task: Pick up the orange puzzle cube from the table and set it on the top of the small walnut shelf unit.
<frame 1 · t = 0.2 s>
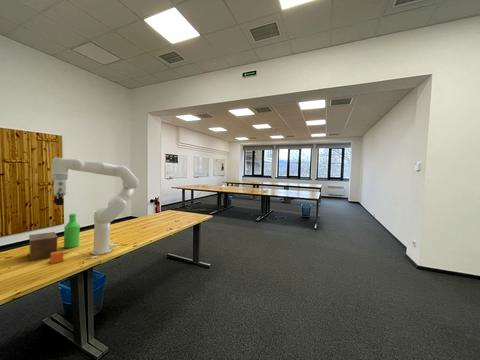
hand: (58, 204, 124), 36 cm above the table, tool pointing down, fingers open, 9 cm apart
shelf: (42, 255, 132), on the table
bottle: (71, 246, 149), on the table
cube: (56, 261, 124), on the table
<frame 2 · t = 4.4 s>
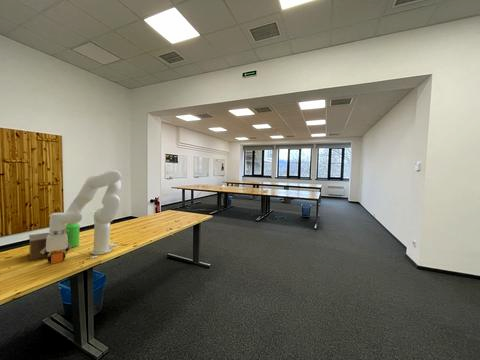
hand: (56, 260, 124), 0 cm above the table, tool pointing down, fingers closed on cube, 5 cm apart
cube: (56, 261, 124), on the table, touching gripper
everything else where it was.
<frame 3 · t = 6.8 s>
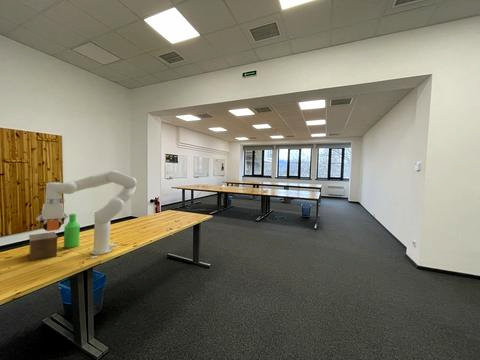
hand: (52, 228, 126), 20 cm above the table, tool pointing down, fingers closed on cube, 5 cm apart
cube: (52, 229, 126), point 19 cm above the table, touching gripper
everything else where it was.
when the fingers open (13 cm above the table, at t = 9.6 s): cube stays where it is, resting on shelf.
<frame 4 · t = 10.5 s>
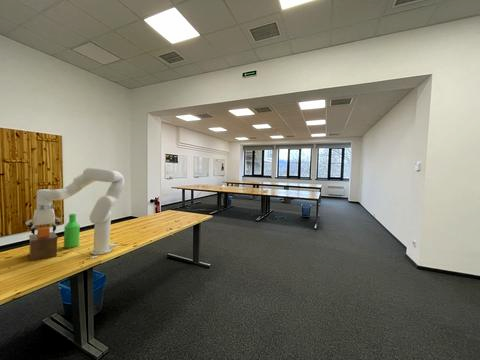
hand: (43, 232, 132), 15 cm above the table, tool pointing down, fingers open, 9 cm apart
cube: (43, 236, 132), point 13 cm above the table, touching shelf
everything else where it was.
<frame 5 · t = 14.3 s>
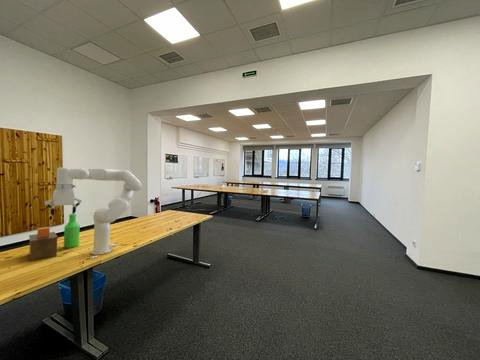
hand: (63, 214, 123), 30 cm above the table, tool pointing down, fingers open, 9 cm apart
nothing on the table moved.
at the end: cube inside the target area on the shelf (0.1 cm from its centre), point 13.0 cm above the shelf's base; cube tilted 0°; the gripper is holding nothing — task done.
